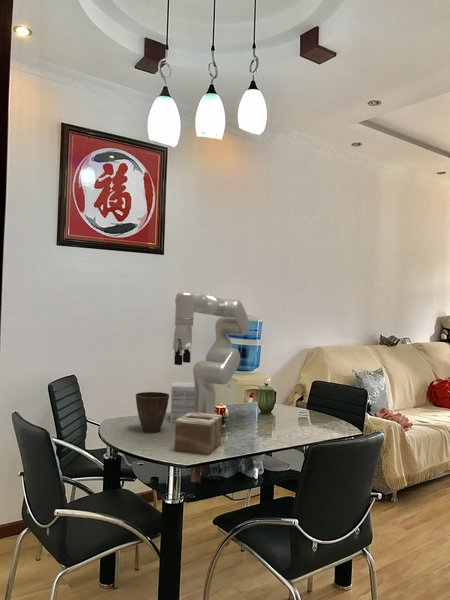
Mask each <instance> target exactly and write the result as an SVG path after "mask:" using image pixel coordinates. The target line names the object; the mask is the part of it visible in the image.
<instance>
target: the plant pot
mask: <svg viewBox="0 0 450 600" xmlns="http://www.w3.org/2000/svg"><path fill="white" fill-rule="evenodd" d="M169 399H170V394H169V393H166V392H157V391H156V392H155V391H148V392H147V391H144V392H138V393H136V394H135V402H136V408H137V414H138V419H139V423H140V426H141V429H142V431H143V432H144V433H158V432H160V431H161V428H162V425H163V423H164V420H165V417H166V413H167V410H168V405H169Z"/></svg>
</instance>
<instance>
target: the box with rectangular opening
mask: <svg viewBox="0 0 450 600" xmlns="http://www.w3.org/2000/svg"><path fill="white" fill-rule="evenodd" d="M222 419H223V415H221V414H216V413H215V414H205V413H195V412H189V413H187V414H185V415H184V416H182V417H180V418H178V419H177V420H176V422H175V434H174V435H175V436H174V452H181V453H188V454H196V455H197V454H198V455H205V456H210V455H211V454H212V453H213V452H214V451H215V450H216V449H217V448H219V447H220V446H221V444H222V424H223V423H222V422H223V420H222Z"/></svg>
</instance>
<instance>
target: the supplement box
mask: <svg viewBox="0 0 450 600" xmlns="http://www.w3.org/2000/svg"><path fill="white" fill-rule="evenodd" d="M194 393H195V385H194V382H183V381H182V382H179V381H177V382H176V381H175V382H174V381H172V384H171V394H170V395H171V396H170V397H171V398H170V423H176V420H177V419H178V418H180V417H182V416H184V415H185V414H187V413H189V412H194Z"/></svg>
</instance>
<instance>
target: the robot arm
mask: <svg viewBox="0 0 450 600" xmlns="http://www.w3.org/2000/svg"><path fill="white" fill-rule="evenodd" d="M174 301H175V302H174V303H175V315H174V318H175V319H174V326H175V328H174V333H173V343H172V344H173V345H172V348H173V350H174V353H173V354H174V363H173V364H174V365H175V366H182V365H183V363H184V364H185V363H187V364H188V363H191V356H192V355H191V354H192V345H193V344H192V342H193V341H192V340H193V339H192V338H193V336H192V335H193V330H192V329H193V328H192V327H194V314H195V313H197V314H203V315H209V316H210V315H211V316H214V317H215V316H216V317H218V318H217V320H216V322H215V324H214V325H215V326H214V327H215V328H214V329H215V341H214V343H213V344H212V345H211V346H210V349H208V351H207V353H206V355H205V360H201V361H200V360H199V361H198V362H196V363H195V364H194V366H193V369H192V374H193V383H194V385H195V393H194V412H195V413H205V414H215V415H216V395H217V394H216V390H215V387H214V385H213V384H217V385H227V384H228V383H229V382H230V381H231V379H232V378H233V375H234V374H235V372H236V371H237V369H238V367H239V366H240V362H241V354H240V351H239V350H238V349H236V348H234V347H233V343H232V341H231V338H230V337H229V335H233V336H234V335H235V336H245V335H247V334H248V333H249V331H250V327H251V326H250V321H249V319H248V315H247V312H246V308H245V307H244V305H243V303H242V301H241V300H239V299H231V298H229V299H228V298H221V297H218V296H217V297H216V296H215V295H214V296H213V295H206V294H204V293H202V292H177V294H176V296H175V299H174Z"/></svg>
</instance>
